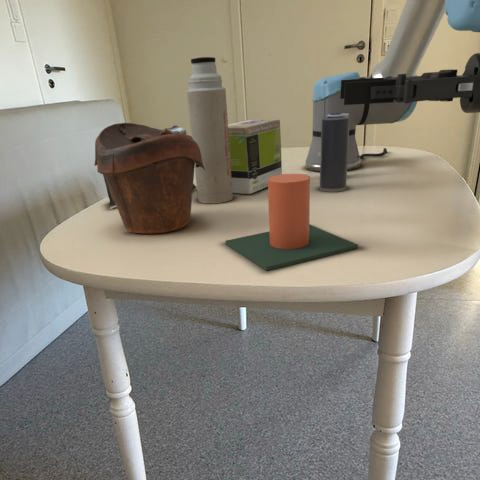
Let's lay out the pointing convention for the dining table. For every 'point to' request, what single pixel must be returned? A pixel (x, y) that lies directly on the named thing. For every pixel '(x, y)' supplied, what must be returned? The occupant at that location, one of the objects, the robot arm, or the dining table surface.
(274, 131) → the tea box
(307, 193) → the orange cylinder
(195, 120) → the thermos bottle
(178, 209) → the brown tapered pot
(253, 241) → the mat
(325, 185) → the dark grey cylinder
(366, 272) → the dining table surface
